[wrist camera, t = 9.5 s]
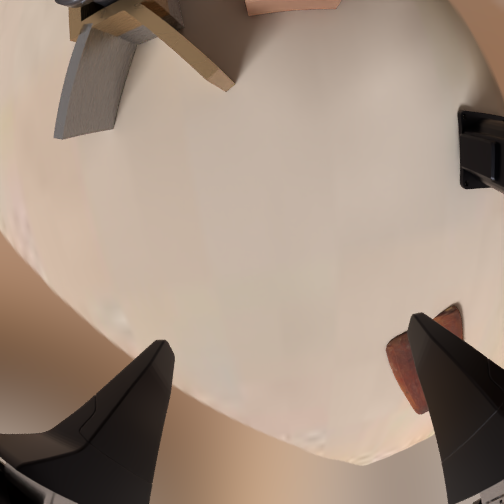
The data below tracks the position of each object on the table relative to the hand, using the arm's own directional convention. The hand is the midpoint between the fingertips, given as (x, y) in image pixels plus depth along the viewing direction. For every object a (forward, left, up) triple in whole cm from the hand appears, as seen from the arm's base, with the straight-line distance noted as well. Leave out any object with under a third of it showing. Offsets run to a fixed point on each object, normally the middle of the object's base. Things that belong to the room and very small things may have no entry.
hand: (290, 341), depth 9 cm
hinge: (+6, -15, -12) cm, 20 cm away
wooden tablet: (-18, +26, -13) cm, 34 cm away
